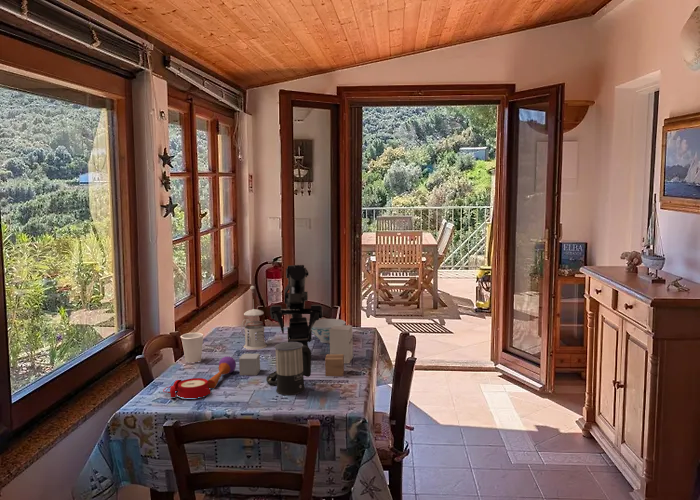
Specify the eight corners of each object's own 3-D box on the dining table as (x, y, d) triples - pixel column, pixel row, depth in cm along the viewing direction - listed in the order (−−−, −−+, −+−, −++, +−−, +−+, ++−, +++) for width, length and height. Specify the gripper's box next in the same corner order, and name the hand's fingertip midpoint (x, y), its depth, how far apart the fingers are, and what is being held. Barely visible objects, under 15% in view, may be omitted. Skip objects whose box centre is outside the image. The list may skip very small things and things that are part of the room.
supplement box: (349, 363, 222) (348, 329, 221) (329, 363, 224) (328, 329, 222) (353, 358, 229) (352, 325, 228) (334, 357, 231) (333, 324, 230)
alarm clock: (210, 388, 189) (161, 379, 188) (206, 407, 190) (158, 399, 189) (216, 377, 199) (170, 369, 198) (212, 396, 200) (167, 387, 199)
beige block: (243, 370, 218) (242, 353, 218) (260, 370, 218) (259, 353, 217) (239, 375, 212) (239, 358, 212) (256, 375, 212) (256, 358, 211)
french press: (272, 344, 251) (269, 284, 248) (253, 351, 241) (250, 289, 239) (254, 342, 256) (251, 283, 254) (234, 348, 247) (231, 287, 244)
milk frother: (297, 396, 190) (295, 350, 188) (252, 392, 195) (250, 346, 193) (315, 382, 203) (314, 338, 201) (273, 378, 208) (271, 335, 207)
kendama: (199, 377, 199) (219, 355, 218) (204, 394, 200) (224, 371, 219) (217, 374, 198) (235, 352, 217) (221, 391, 199) (239, 368, 218)
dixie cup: (184, 365, 225) (182, 339, 224) (180, 359, 233) (178, 334, 232) (206, 362, 229) (205, 336, 228) (202, 356, 236) (201, 331, 235)
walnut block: (327, 371, 215) (326, 354, 214) (344, 370, 214) (343, 354, 214) (325, 376, 209) (324, 359, 208) (343, 376, 209) (342, 359, 208)
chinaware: (313, 336, 263) (313, 318, 263) (348, 336, 261) (347, 318, 260) (306, 345, 249) (306, 327, 248) (343, 346, 247) (342, 327, 246)
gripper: (269, 284, 219) (267, 323, 210) (321, 283, 219) (321, 321, 210) (272, 299, 228) (270, 337, 219) (322, 298, 228) (322, 336, 220)
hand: (295, 333), depth 217 cm, fingers open, 9 cm apart
